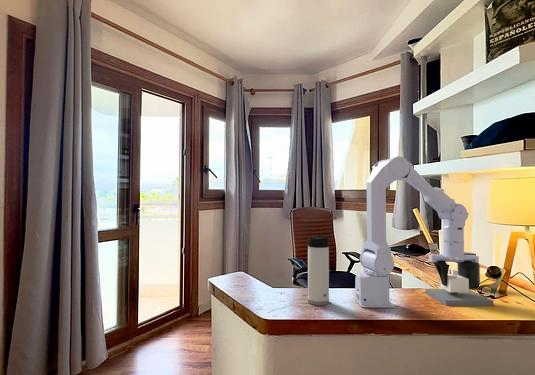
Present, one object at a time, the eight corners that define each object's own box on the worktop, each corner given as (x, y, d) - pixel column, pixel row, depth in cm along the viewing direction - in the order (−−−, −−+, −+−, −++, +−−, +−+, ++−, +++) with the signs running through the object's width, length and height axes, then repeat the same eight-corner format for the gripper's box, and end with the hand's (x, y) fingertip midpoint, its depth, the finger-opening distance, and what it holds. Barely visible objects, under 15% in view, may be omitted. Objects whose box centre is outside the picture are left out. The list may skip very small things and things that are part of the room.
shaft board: (445, 305, 93) (445, 283, 93) (425, 293, 105) (425, 273, 105) (493, 305, 93) (492, 283, 93) (467, 293, 105) (467, 274, 105)
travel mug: (331, 305, 92) (331, 236, 93) (308, 305, 92) (308, 236, 93) (328, 299, 98) (328, 234, 99) (307, 298, 99) (307, 234, 99)
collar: (450, 292, 96) (450, 278, 97) (440, 287, 102) (440, 274, 102) (468, 292, 96) (468, 279, 97) (457, 287, 102) (457, 274, 102)
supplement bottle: (484, 289, 111) (484, 254, 111) (464, 289, 111) (464, 254, 111) (472, 284, 117) (471, 251, 118) (453, 284, 118) (453, 251, 118)
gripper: (436, 242, 96) (437, 288, 95) (485, 243, 96) (485, 288, 95) (425, 240, 103) (425, 282, 102) (470, 240, 103) (470, 282, 102)
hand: (453, 285), depth 99 cm, fingers closed on collar, 5 cm apart
